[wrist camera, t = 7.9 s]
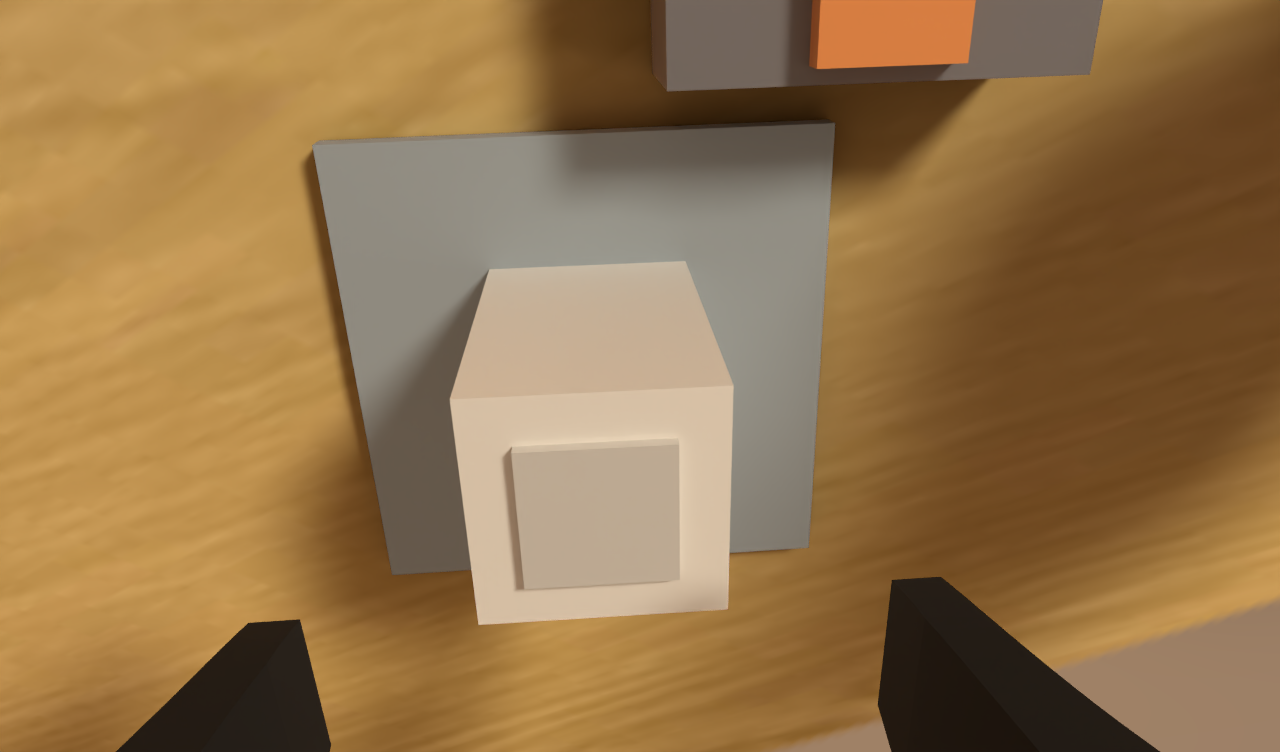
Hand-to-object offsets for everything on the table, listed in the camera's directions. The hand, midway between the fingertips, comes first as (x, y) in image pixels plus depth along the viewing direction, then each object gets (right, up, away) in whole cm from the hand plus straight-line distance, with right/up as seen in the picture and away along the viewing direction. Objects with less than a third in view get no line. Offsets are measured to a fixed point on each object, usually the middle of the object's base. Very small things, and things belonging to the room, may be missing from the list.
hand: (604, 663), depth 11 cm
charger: (-1, +4, +8) cm, 9 cm away
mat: (-1, +4, +8) cm, 9 cm away
